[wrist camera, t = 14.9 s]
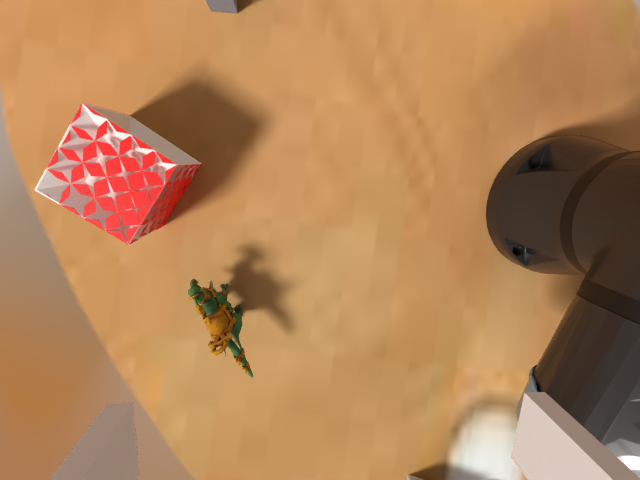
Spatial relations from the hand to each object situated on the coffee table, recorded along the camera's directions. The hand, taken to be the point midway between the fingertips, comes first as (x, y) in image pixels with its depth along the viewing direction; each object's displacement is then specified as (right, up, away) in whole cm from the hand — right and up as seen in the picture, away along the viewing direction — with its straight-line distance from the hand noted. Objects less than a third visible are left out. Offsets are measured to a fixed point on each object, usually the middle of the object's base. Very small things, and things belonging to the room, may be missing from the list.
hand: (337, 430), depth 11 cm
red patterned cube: (-18, +13, +23) cm, 32 cm away
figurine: (-11, -2, +27) cm, 29 cm away
